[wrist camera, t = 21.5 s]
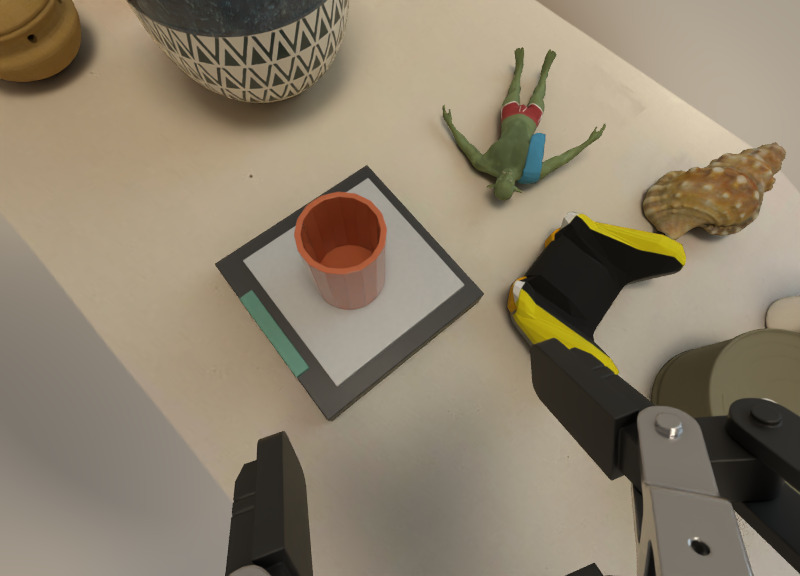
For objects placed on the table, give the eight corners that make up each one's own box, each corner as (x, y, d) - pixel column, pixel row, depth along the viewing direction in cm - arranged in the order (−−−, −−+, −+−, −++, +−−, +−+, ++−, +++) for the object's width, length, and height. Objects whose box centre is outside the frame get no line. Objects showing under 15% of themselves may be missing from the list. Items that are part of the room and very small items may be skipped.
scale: (331, 421, 33) (327, 420, 30) (224, 274, 37) (211, 261, 34) (478, 302, 37) (486, 291, 34) (367, 179, 40) (366, 160, 37)
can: (822, 474, 33) (929, 485, 27) (689, 518, 32) (769, 540, 25) (745, 332, 37) (824, 311, 30) (624, 365, 35) (679, 350, 29)
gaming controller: (659, 271, 38) (568, 209, 40) (702, 246, 33) (595, 177, 35) (577, 400, 34) (479, 326, 36) (612, 395, 29) (496, 308, 31)
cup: (342, 324, 32) (330, 292, 25) (300, 270, 34) (276, 224, 26) (399, 281, 34) (404, 238, 26) (356, 231, 35) (349, 176, 28)
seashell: (644, 180, 45) (743, 106, 38) (697, 233, 45) (807, 169, 38) (629, 209, 39) (744, 127, 32) (690, 271, 39) (821, 203, 31)
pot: (57, 0, 46) (-26, -110, 37) (123, 54, 44) (53, -48, 35) (-42, 58, 43) (-160, -47, 34) (24, 120, 41) (-83, 27, 32)
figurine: (617, 52, 41) (599, 200, 34) (604, 86, 44) (585, 226, 38) (461, 39, 44) (418, 172, 38) (461, 72, 48) (421, 198, 41)
